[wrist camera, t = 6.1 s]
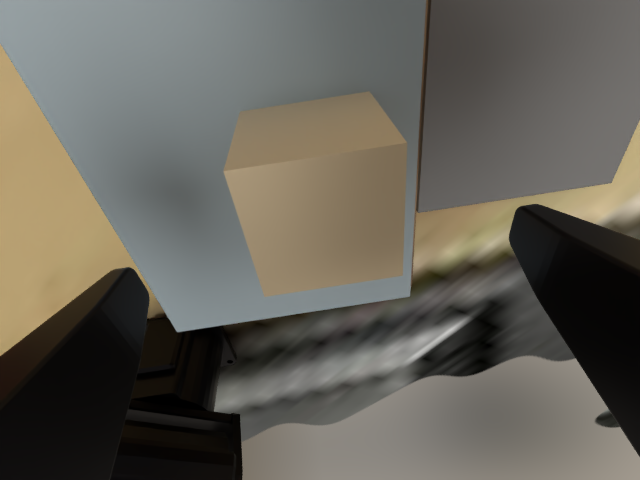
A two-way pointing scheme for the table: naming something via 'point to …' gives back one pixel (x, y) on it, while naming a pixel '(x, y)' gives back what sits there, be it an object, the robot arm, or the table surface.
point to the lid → (239, 142)
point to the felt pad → (525, 97)
